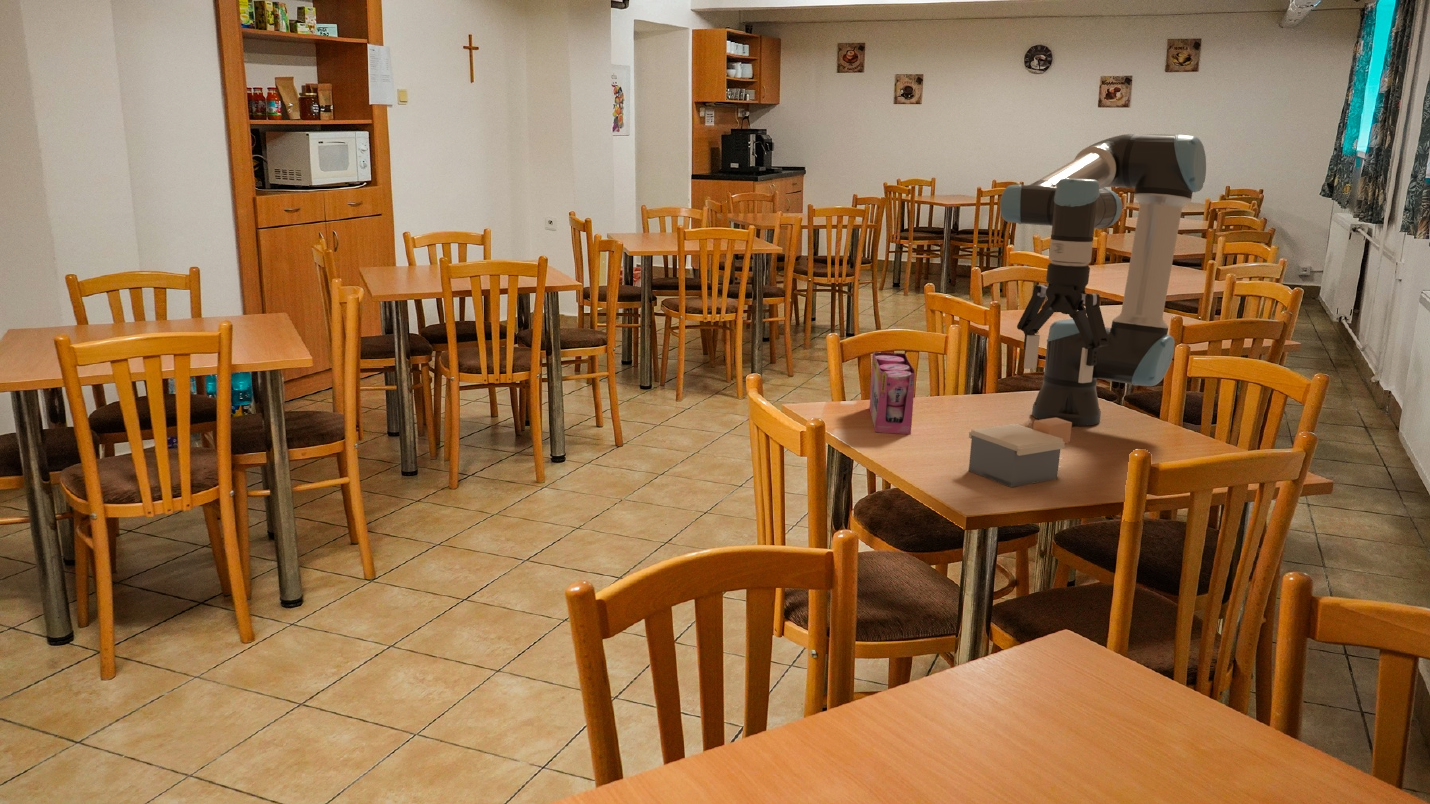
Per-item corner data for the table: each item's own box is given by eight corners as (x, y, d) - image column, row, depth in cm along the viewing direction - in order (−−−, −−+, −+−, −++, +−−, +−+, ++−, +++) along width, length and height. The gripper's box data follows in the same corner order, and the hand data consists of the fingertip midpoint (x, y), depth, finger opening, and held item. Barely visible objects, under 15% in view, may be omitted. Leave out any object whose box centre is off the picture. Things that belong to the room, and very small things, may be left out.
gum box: (912, 436, 226) (917, 374, 223) (875, 434, 226) (879, 372, 223) (902, 409, 249) (906, 353, 246) (868, 407, 250) (872, 351, 246)
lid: (1036, 431, 211) (1038, 412, 210) (1088, 448, 200) (1090, 427, 199) (968, 441, 202) (970, 421, 201) (1018, 459, 191) (1020, 438, 190)
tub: (1013, 463, 209) (1017, 429, 207) (1057, 478, 199) (1061, 443, 198) (968, 470, 203) (971, 435, 201) (1010, 487, 193) (1014, 450, 192)
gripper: (1005, 256, 205) (995, 363, 210) (1109, 271, 184) (1095, 390, 189) (1033, 255, 209) (1022, 361, 214) (1138, 270, 188) (1123, 386, 193)
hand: (1056, 375), depth 201 cm, fingers open, 13 cm apart
